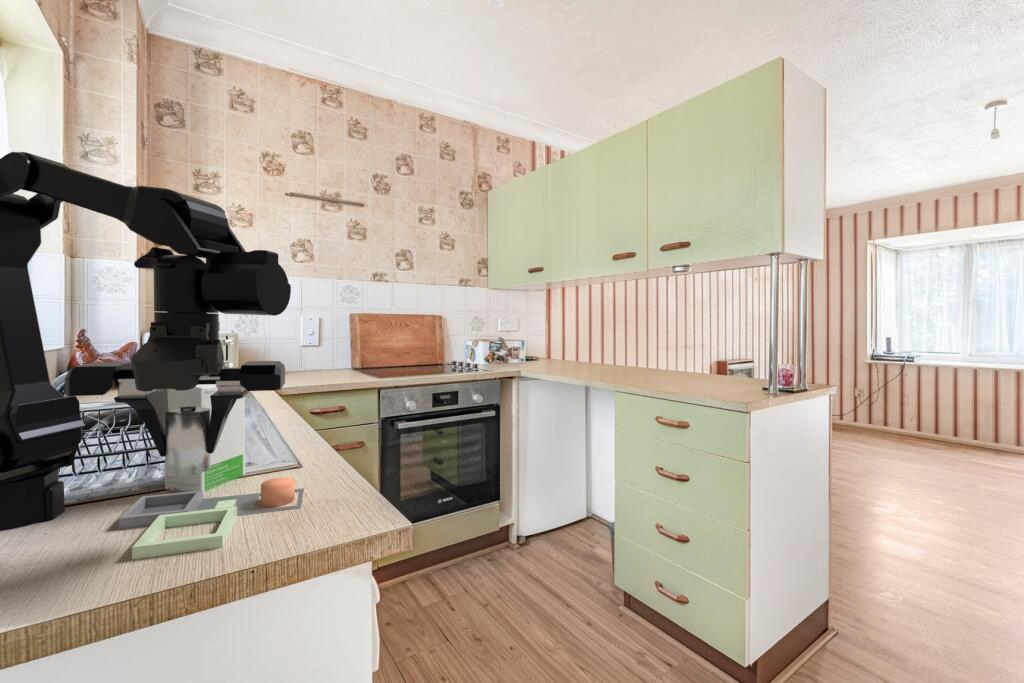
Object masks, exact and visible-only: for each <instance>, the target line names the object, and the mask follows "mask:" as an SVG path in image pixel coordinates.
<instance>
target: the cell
mask: <svg viewBox="0 0 1024 683" xmlns="http://www.w3.org/2000/svg"><path fill="white" fill-rule="evenodd" d="M209 426H210V409H209V408H202V407H196V406H195V405H188V406H181V407H180V409H175V410H170V411H167V412H166V413H165V432H166V474H167V475H169V476H188V475H194V474H198V473H202V472H205V471H207V470H208V469H210V454H209V453H208V435H209Z"/></svg>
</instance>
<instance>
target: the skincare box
mask: <svg viewBox="0 0 1024 683" xmlns="http://www.w3.org/2000/svg"><path fill="white" fill-rule="evenodd" d="M217 391H218V387H217V388H216V384H203V385H197V386H196V387H194V388H192V389H189V390H183V391H177V390H175V389H167V393H168V411H170V410H175V409H180V407H181V406H188V405H195V406H196V407H202V408H209V409H210V418H211V408H212V407H211V399H210V396H211V395H212V394H214V393H215V392H217ZM245 398H246V395H245V396H244V397H243V398H241V399H237V400H236V402H235V404H234V406H233V408H232V409H231V411H230V413H229V415H228V418H227V420H226V423H225V425H224V428H223V431H222V433H221V436H220V438H219V441H218V443H217V446H216V449H215V451H214V452H213V453H211V454H210V469H208V470H207V471H205V472H202V473H198V474H194V475H188V476H169V475H167V474H166V456H165V457H164V460H165V461H164V463H165V464H164V472H165V473H164V488H165V490H168V491H170V490H171V491H175V492H176V491H177V492H192V491H203V493H205V492H207V491H211V490H213V489H214V488H217V487H220V486H222V485H224V484H226V483H228V482H229V483H230V482H231V481H233V480H235V479H237V478H240V477H243V476H244V475H246V428H245V427H246V426H245V425H246V410H245V409H246V405H245V403H246V399H245Z"/></svg>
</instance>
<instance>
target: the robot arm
mask: <svg viewBox="0 0 1024 683" xmlns="http://www.w3.org/2000/svg"><path fill="white" fill-rule="evenodd" d="M21 190H22V191H25V192H29V193H30V192H31V193H35V195H33V196H32V197H30V198H26V197H25V196H24V195H19V194H16V193H17V192H19V191H21ZM63 202H64V203H67V204H70V205H74V206H77V207H80V208H84V209H87V210H89V211H91V212H96V213H98V214H102V215H104V216H107V217H111V218H114V219H116V220H117V221H120V222H122V223H123V224H125V226H126V227H127V228H128V229H129V230H130V231H131V232H133V233H135V234H136V235H138V236H140V237H142V238H144V239H145V240H147V241H149V242H151V243H153V244H155V245H158V246H162V247H168V248H169V249H167V248H162V247H155V246H152V247H151V248H150V249H149V251H148V252H147V253H145V254H144V255H142V256H140V257H138V258H137V259H136V260H135V261H134V263H133V266H134V267H135V268H137V269H143V270H150V271H151V270H152V271H153V321H151V322H150V327H149V336H148V339H147V341H146V342H145V343H143V344H142V345H141V346H140V347H139V349H137V351H135V353H134V354H133V355H132V356H131V358H130V361H94V362H89V363H85V364H81V365H80V364H79V365H76V366H73V367H72V368H70V369H69V371H67V373H66V375H65V377H64V394H62V393H61V392H60V391H59V390H58V389H57V388H55V387H54V386H53V385H52V383H51V380H50V375H49V368H48V366H47V365H48V364H47V359H46V355H45V354H46V353H45V349H44V345H43V344H44V342H43V339H42V333H41V330H40V328H41V327H40V322H39V319H38V314H37V309H36V302H35V298H34V294H33V293H34V292H33V287H32V284H31V282H32V281H31V278H30V273H29V265H28V264H29V263H30V261H31V260H32V258H33V256H34V255H35V254H36V253H37V251H38V249H39V248H40V247H41V244H42V230H43V229H44V228H45V227H47V226H49V225H50V224H51V223H53V222H54V221H56V220H57V219H58V218H59V214H60V209H61V204H62V203H63ZM172 251H174V252H176V253H177V254H174V252H172ZM201 258H202V259H205V261H204V260H202V259H201ZM291 292H292V285H291V284H290V283H289V279H288V276H287V274H286V271H285V269H284V268H283V267H282V266H281V265H280V264H279V253H277V252H276V251H275V252H274V251H271V250H266V249H257V250H256V249H254V250H250V251H247V250H245V248H244V247H243V245H242V243H241V242H240V240H239V239H238V238H237V236H236V235H235V233H234V232H233V230H232V229H231V227H230V225H229V220H228V218H227V214H226V211H225V210H224V208H222V207H221V206H220V205H217V204H216V203H213V202H209V201H207V200H204V199H200V198H197V197H193V196H192V195H191V196H190V195H188V194H185V193H182V192H179V191H176V190H174V189H173V190H172V189H169V188H165V187H155V186H147V185H146V186H145V185H136V186H131V185H130V186H128V185H124V184H120V183H117V182H114V181H111V180H107V179H105V178H102V177H99V176H95V175H93V174H89V173H86V172H83V171H81V170H80V171H79V170H76V169H74V168H71V167H69V166H67V165H66V163H65V164H64V163H62V162H58V161H57V160H56V161H55V160H52V159H48V158H47V157H42V156H40V155H36V154H34V153H33V154H32V153H30V152H26V151H18V152H17V151H11V152H9V153H7V154H5V155H3V156H2V157H0V532H3V531H10V530H14V529H19V528H23V527H28V526H32V525H35V524H40V523H41V524H42V523H45V522H51V521H53V520H55V519H56V518H58V517H59V516H61V515H62V514H64V513H65V512H66V510H65V509H66V508H65V482H64V481H63V480H60V479H59V469H61V468H65V467H71V466H73V464H74V460H75V457H76V455H77V451H78V448H79V444H81V443H82V439H83V430H82V429H84V428H86V424H85V423H84V421H83V419H82V416H81V411H80V400H79V399H78V397H81V396H87V397H88V396H104V395H107V393H108V394H109V392H110V391H111V390H113V389H114V388H116V387H117V396H116V397H113V400H114V402H115V403H118V404H123V403H124V404H126V405H128V406H129V407H130V408H131V409H132V410H134V411H135V412H136V413H137V415H138V416H139V417H140V419H141V420H142V423H144V425H145V427H146V429H147V431H148V433H149V435H150V437H151V439H152V441H153V443H154V445H155V447H156V449H157V452H158V454H159V456H160V457H161V458H165V456H166V432H165V413H166V412H167V411H168V393H167V389H175V390H177V391H183V390H189V389H192V388H194V387H196V386H197V385H203V384H216V388H217V387H218V391H217V392H215V393H214V394H212V395H211V396H210V399H211V407H212V408H211V418H210V426H209V435H208V453H209V454H211V453H213V452H214V451H215V449H216V446H217V443H218V441H219V438H220V436H221V433H222V431H223V428H224V425H225V423H226V420H227V418H228V415H229V413H230V411H231V409H232V408H233V406H234V404H235V402H236V400H237V399H241V398H243V397H244V396H245V397H246V396H247V395H248V394H249V393H250V392H265V391H266V392H269V391H279V390H280V391H281V390H282V388H283V387H284V385H285V384H286V366H285V364H283V363H282V361H281V360H251V361H250V360H248V361H245V362H244V363H243V364H241V365H240V367H223V366H224V364H225V363H224V362H225V358H224V348H223V344H222V341H221V339H220V334H219V333H220V321H219V320H220V317H219V316H220V315H219V314H221V313H222V314H225V315H243V316H245V315H247V316H249V315H250V316H279V315H281V314H282V313H283V312H285V311H286V309H288V308H287V307H288V306H289V303H290V300H291V295H292V294H291Z"/></svg>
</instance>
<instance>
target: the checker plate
mask: <svg viewBox="0 0 1024 683" xmlns="http://www.w3.org/2000/svg"><path fill="white" fill-rule="evenodd" d="M304 491H305V488H294V493H299V494H298V498H297V503H296V504H297V505H291V506H290V505H289V506H279V507H270V508H263V509H256V510H255V507H256V506H257V503H258V500H259V499H260V497H261V492H256V493H246V494H236V495H235V494H234V495H229V496H227V495H226V496H218V497H217V496H215V497H207V498H204V492H203V491H192V492H183V491H181V492H173V493H164V494H163V493H161V494H153V495H143V496H141V497H139V498H138V499H137V500H136V501H135V502H134V503H133V504H132V505H131V506H130V507H129V508H128V509H127V510H126V511H125V512H124V513H122V515H120V516H119V517H118V527H117V528H116V529H115V530H116V531H122V530H129V529H137V528H149V527H150V526H151V524H152V523H153V522H154V521H155V520H156V519H157V517H158V516H159V515H164V514H173V513H182V512H191V511H200V510H209V509H218V508H227V507H236V506H237V517H240V516H249V515H258V514H265V513H266V514H267V513H273V512H283V511H289V510H301V509H302V504H303V498H304V497H303V496H304Z"/></svg>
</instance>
